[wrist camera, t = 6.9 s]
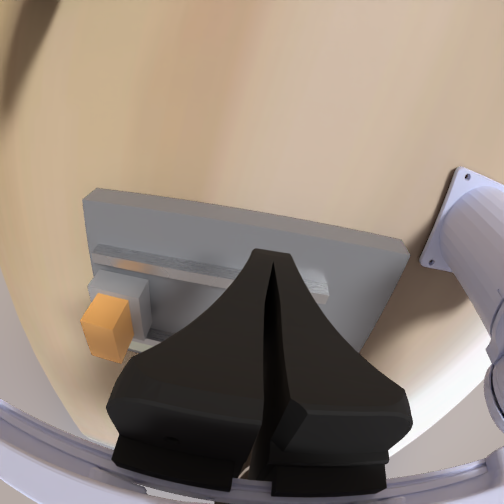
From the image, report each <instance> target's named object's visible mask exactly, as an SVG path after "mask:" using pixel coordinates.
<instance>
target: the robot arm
mask: <svg viewBox="0 0 504 504" xmlns="http://www.w3.org/2000/svg"><path fill="white" fill-rule="evenodd" d="M466 174H468V177H467V178H466V179H465V175H466ZM430 260H432V261H431V262H429V261H430ZM419 262H420V264H421V265H422V266H423V267H428V268H433V269H438V270H443V271H448V272H453V273H454V275H455V276H456V278H457V280H458V281H459V283H460V284H461V286H462V288H463V289H464V291H465V292H466V294H467V296H468V297H469V299H470V301H471V303H472V304H473V306H474V308H475V309H476V311H477V313H478V315H479V317H480V318H481V320H482V322H483V324H484V326H485V327H486V329H487V331H488V333H489V335H490V337H491V341H490V343H489V345H488V347H487V348H486V352H487V354H488V356H489V358H490V360H491V363H492V364H491V366H490V367H489V368H488V370H487V372H486V375H485V379H484V395H485V399H486V403H487V407H488V410H489V413H490V415H491V417H492V419H493V421H494V422H495V424H496V425H497V427H498V428H499V429H500V430H501V431H502V432H503V433H504V185H503V184H501V183H499V182H496V181H494V180H492V179H490V178H488V177H485V176H483V175H481V174H479V173H476V172H474V171H472V170H469V169H467V168H464V167H461V166H460V167H458V168H457V169H456V170H455V172H454V175H453V178H452V181H451V184H450V186H449V189H448V192H447V195H446V197H445V200H444V202H443V205H442V208H441V210H440V213H439V215H438V217H437V220H436V222H435V225H434V227H433V229H432V232H431V234H430V236H429V239H428V241H427V243H426V245H425V247H424V250H423V252H422V254H421V256H420V259H419ZM106 409H107V412H108V415H109V417H110V418H111V420H112V422H113V424H114V425H115V427H116V429H117V431H118V432H119V437H118V440H117V443H116V446H115V449H114V450H112V449H108V448H106V447H103V446H100V445H97V444H95V443H92V442H89V441H87V440H84V439H82V438H79V437H76V436H74V435H72V434H70V433H67V432H65V431H63V430H60V429H58V428H56V427H54V426H52V425H49V424H47V423H45V422H43V421H41V420H39V419H37V418H35V417H33V416H31V415H29V414H27V413H25V412H24V411H22V410H20V409H18V408H16V407H14V406H13V405H11V404H9V403H7V402H6V401H4V400H2V399H1V398H0V479H1V480H3V481H4V482H5V483H7V484H8V485H10V486H11V487H13V488H14V489H16V490H17V491H19V492H20V493H22V494H23V495H25V496H27V497H28V498H30V499H32V500H33V501H35V502H37V503H39V504H207V503H197V502H182V501H176V500H171V499H165V498H160V497H155V496H151V495H148V494H147V493H146V489H145V487H142V486H140V485H143V486H146V487H150V488H154V489H158V490H162V491H165V492H169V493H174V494H179V495H183V496H188V497H193V498H198V499H204V500H210V501H216V502H223V503H230V504H504V446H503V447H501V448H499V449H497V450H495V451H494V452H492V453H491V454H489V455H488V456H487V457H486V458H484V459H481V460H478V461H474V462H471V463H467V464H463V465H459V466H455V467H451V468H447V469H443V470H438V471H433V472H428V473H423V474H418V475H412V476H406V477H398V478H391V479H386V474H385V464H387V463H388V462H389V454H388V450H389V449H390V448H391V447H393V446H394V445H395V444H396V443H397V442H399V441H400V440H401V439H402V438H403V437H404V436H405V435H406V434H407V433H408V432H409V431H410V430H411V428H412V425H413V420H412V416H411V410H410V406H409V402H408V399H407V396H406V393H405V390H404V389H403V388H402V387H400V386H399V385H397V384H396V383H395V382H393V381H392V380H390V379H389V378H388V377H386V376H385V375H384V374H382V373H381V372H380V371H378V370H377V369H376V368H375V367H374V366H372V365H371V364H370V363H369V362H368V361H367V360H365V359H364V358H363V357H362V356H361V355H360V354H359V353H358V352H357V351H356V350H355V349H354V348H353V347H352V346H351V345H350V344H349V343H348V342H347V341H346V340H345V339H344V338H343V337H342V336H341V335H340V333H339V332H338V331H337V330H336V329H335V327H334V326H333V325H332V324H331V323H330V321H329V320H328V319H327V317H326V316H325V315H324V313H323V312H322V310H321V309H320V307H319V306H318V304H317V303H316V301H315V299H314V298H313V296H312V295H311V293H310V291H309V289H308V288H307V286H306V284H305V282H304V280H303V278H302V277H301V275H300V273H299V271H298V268H297V266H296V264H295V262H294V260H293V257H292V256H291V254H290V253H283V252H277V251H271V250H264V249H258V248H255V249H253V250H252V252H251V255H250V257H249V259H248V261H247V262H246V264H245V266H244V267H243V269H242V270H241V272H240V273H239V274H238V276H237V277H236V279H235V280H234V281H233V282H232V284H231V285H230V286H229V287H228V288H227V289H226V291H225V292H224V293H223V294H222V295H221V296H220V297H219V298H218V299H217V300H216V301H215V302H214V303H213V304H212V305H211V306H210V307H209V308H208V309H207V310H206V311H204V312H203V313H202V314H201V315H200V316H198V317H197V318H196V319H195V320H194V321H192V322H191V323H190V324H188V325H187V326H186V327H184V328H183V329H181V330H180V331H178V332H177V333H175V334H173V335H172V336H170V337H169V338H167V339H166V340H164V341H162V342H161V343H159V344H157V345H155V346H153V347H151V348H149V349H147V350H145V351H143V352H141V353H139V354H137V355H135V356H133V357H131V359H130V360H129V361H128V363H127V364H126V366H125V367H124V369H123V371H122V372H121V374H120V375H119V377H118V379H117V381H116V383H115V385H114V387H113V390H112V393H111V395H110V398H109V400H108V403H107V406H106ZM251 449H252V453H251V460H250V466H249V473H248V479H239V478H238V477H239V474H240V472H241V470H242V467H243V465H244V463H246V461H247V459H248V456H249V454H250V452H251ZM132 482H133V483H132ZM135 483H136V484H135ZM137 484H139V485H137Z"/></svg>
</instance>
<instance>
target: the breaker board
mask: <svg viewBox="0 0 504 504" xmlns="http://www.w3.org/2000/svg"><path fill="white" fill-rule="evenodd" d="M82 201H83V210H84V218H85V226H86V233H87V240H88V247H89V253H90V259H91V265H92V270H93V275H94V276H95V275H96V273H97V272H98V271H99V269H101V270H105V271H110V272H114V273H119V274H124V275H128V276H133V277H138V278H143V279H148V280H149V292H150V304H151V315H152V324H151V327H150V329H149V331H148V334H147V336H146V339H145V341H142V340H138V339H134V338H133V339H132V341H131V343H130V345H129V348H128V350H129V351H132V352H136V353H141V352H143V351H145V350H147V349H149V348H151V347H153V346H155V345H157V344H159V343H161V342H162V341H164V340H166V339H167V338H169V337H170V336H172V335H173V334H175V333H177V332H178V331H180V330H181V329H183V328H184V327H186V326H187V325H188V324H190V323H191V322H192V321H194V320H195V319H196V318H197V317H198V316H200V315H201V314H202V313H203V312H204V311H206V310H207V309H208V308H209V307H210V306H211V305H212V304H213V303H214V302H215V301H216V300H217V299H218V298H219V297H220V296H221V295H222V294H223V293H224V292H225V291H226V289H227V288H228V287H229V286H230V285H231V284H232V282H233V281H234V280H235V279H236V277H237V276H238V274H239V273H240V272H241V270H242V269H243V267H244V266H245V264H246V262H247V261H248V259H249V257H250V255H251V252H252V250H253V249H255V248H258V249H264V250H271V251H277V252H283V253H290V254H291V256H292V257H293V260H294V262H295V264H296V266H297V268H298V271H299V273H300V275H301V277H302V278H303V280H304V282H305V284H306V286H307V288H308V289H309V291H310V293H311V295H312V296H313V298H314V299H315V301H316V303H317V304H318V306H319V307H320V309H321V310H322V312H323V313H324V315H325V316H326V317H327V319H328V320H329V321H330V323H331V324H332V325H333V326H334V327H335V329H336V330H337V331H338V332H339V333H340V335H341V336H342V337H343V338H344V339H345V340H346V341H347V342H348V343H349V344H350V345H351V346H352V347H353V348H354V349H355V350H356V351H357V352H358V353H359V352H360V350H361V349H362V347H363V345H364V344H365V342H366V340H367V339H368V337H369V335H370V333H371V332H372V330H373V328H374V326H375V324H376V323H377V321H378V319H379V317H380V315H381V314H382V312H383V310H384V308H385V306H386V304H387V302H388V300H389V299H390V297H391V295H392V293H393V291H394V289H395V287H396V285H397V283H398V281H399V279H400V277H401V275H402V273H403V270H404V268H405V266H406V264H407V262H408V260H409V258H410V253H409V252H408V250H407V248H406V247H405V245H404V243H403V241H402V240H400V239H396V238H391V237H387V236H382V235H377V234H372V233H368V232H363V231H358V230H353V229H348V228H343V227H338V226H333V225H328V224H323V223H318V222H312V221H307V220H302V219H296V218H291V217H286V216H280V215H274V214H269V213H263V212H257V211H251V210H245V209H239V208H233V207H227V206H221V205H215V204H208V203H202V202H195V201H189V200H182V199H175V198H168V197H161V196H154V195H147V194H139V193H132V192H124V191H116V190H108V189H100V188H96V189H95V190H94V191H92V192H91V193H90V194H89V195H87V196H86V197H85V198H84V199H83V200H82Z"/></svg>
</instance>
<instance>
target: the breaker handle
mask: <svg viewBox="0 0 504 504" xmlns="http://www.w3.org/2000/svg"><path fill="white" fill-rule="evenodd" d="M88 291H89V295H90V299H91V304H90V306H89V307H88V309H87V311H86V312H85V314H84V315H83V317H82V319H81V320H80V322H81V325H82V328H83V331H84V334H85V337H86V340H87V343H88V346H89V349H90V351H91V354H92V355H94V356H97V357H100V358H103V359H106V360H110V361H113V362H117V363H120V364H122V361H123V359H124V357H125V354H126V352H127V350H128V348H129V345H130V343H131V341H132V339H133V338H134V339H138V340H142V341H145V339H146V336H147V334H148V331H149V329H150V327H151V324H152V315H151V304H150V292H149V280H148V279H143V278H138V277H133V276H128V275H124V274H119V273H114V272H110V271H105V270H101V269H99V271H98V272H97V273H96V275H95V276H94V278H93V279H92V280H91V282H90V283H89V285H88Z"/></svg>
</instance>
